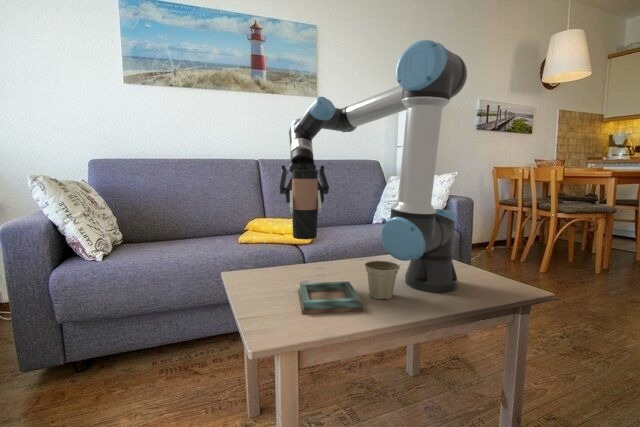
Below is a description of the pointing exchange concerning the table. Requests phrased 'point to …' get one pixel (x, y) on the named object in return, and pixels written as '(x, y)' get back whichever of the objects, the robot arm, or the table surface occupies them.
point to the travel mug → (305, 203)
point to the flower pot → (381, 278)
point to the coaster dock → (328, 297)
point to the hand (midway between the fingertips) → (305, 210)
